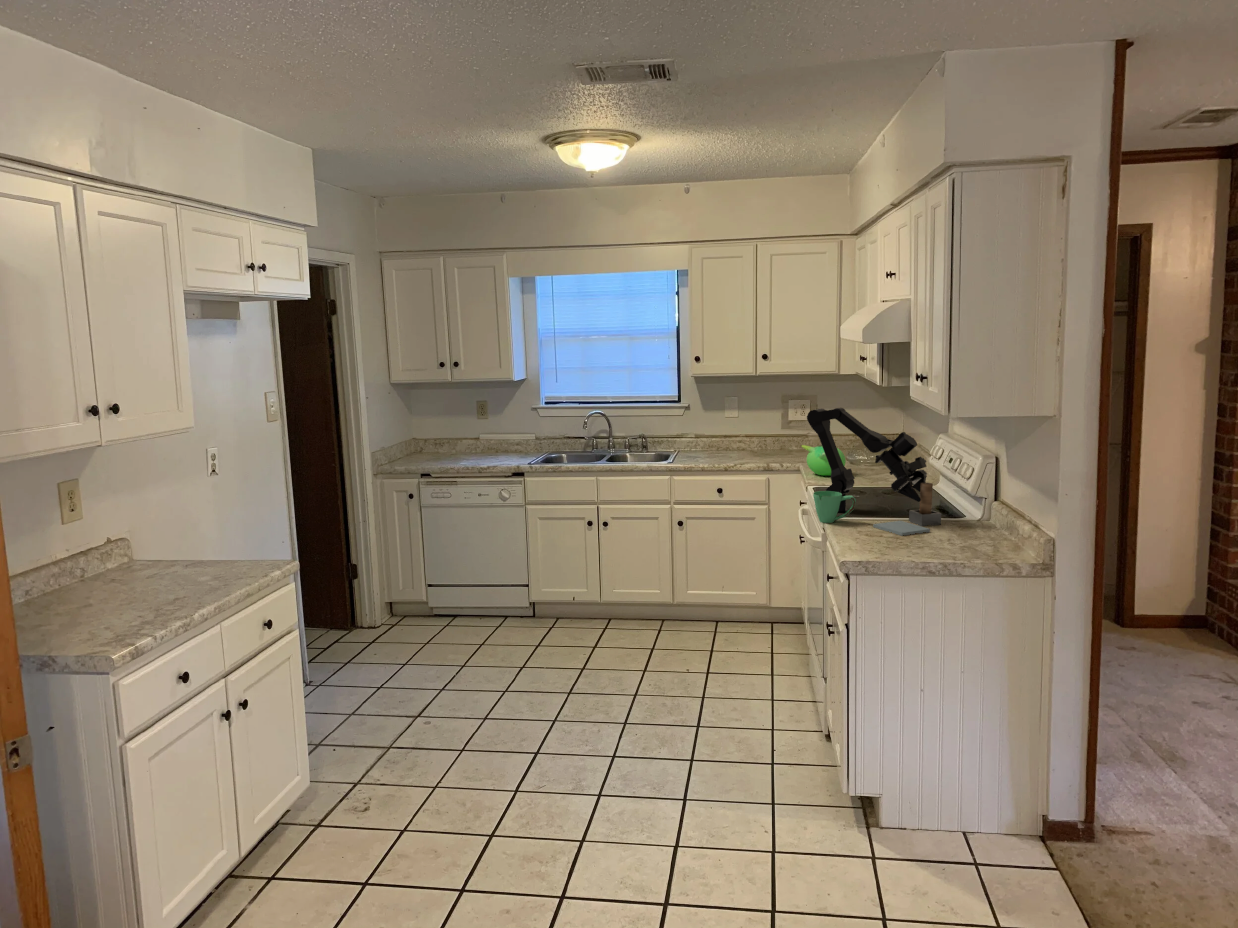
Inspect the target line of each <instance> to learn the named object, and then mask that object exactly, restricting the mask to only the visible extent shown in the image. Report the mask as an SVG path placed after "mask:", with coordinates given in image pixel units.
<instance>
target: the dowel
mask: <svg viewBox="0 0 1238 928" xmlns="http://www.w3.org/2000/svg"><path fill="white" fill-rule="evenodd" d="M933 485H934V483H933V482H932V483H931V482H926V483H921V484H920V492H919V497H920V499H921V501H920V502H919V509H918V510H919V513H921V514H931V510H932V506H933V491H934V490H933V489H934V488H933Z"/></svg>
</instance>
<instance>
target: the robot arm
mask: <svg viewBox="0 0 1238 928" xmlns="http://www.w3.org/2000/svg"><path fill="white" fill-rule="evenodd" d="M806 420H807V422H808V424H809V426H810V428H811V429H812V430H813V431H814V432H815V433H816V434H817V436H818V439H819V442H820V444H821V445H822V447H823V450H824V452H825V455H826V458H827V460H828V463H829V465H830V468H831V476H830V481H831V485H829V486H828V487H826V489H825V491H833V492H839V493H841V494H842V496H847V494H849V493H850V490H851V489H852V488H853V487H854V485H855V479H856V478H855V476H854V475H853V471H852V468H846V467H845V466H844V465H843V463H842V460H841V458H840V455H839V452H838V450H837V448H838V447H837V445H836V442H835V440H834V437H833V434H832V431H831V420H836V421H837V422H839V423H840V424H841V425H843V426H844V427H846V429H848V430H849V431H850V432H852V433H853V434H854V435H856V436H857V437H858V438H859V439H860V440H861V441H862V444H863V446H865V447H866V449H867V450H868V451H869V452H870V453H872V454H873V453H874V454H876V453H880V452H882V453H880V454H877V455H875V462H874V463H875V464H877V463H881V462H882V463H883V464H884V465H885V467H886V468H887V469H888V470H889V473H888V474H890V475H891V476H894V477H895V478H896V480H894V481H892V483H890V487H891V490H892V491H893V492H896V493H898V494H901V495H903V496H905V497H907V498H910V499H911V500H914V501H916V502H918V503H920V501H921V499H920V494H918V493H917V491H918V492H919V493H920V484H921V483H927V481H926V480H927V478H928V476H927V475H928V473H927V472H926V470H925V469H923V468H927V460H926V459H925V458H924V457H922V456H918V457H916V458H914V461H911V462H909V461H908V460H903V459H902V458H901V457H906V456H907V455H908V454H910V452H912V451H913V450H914V449H915V448H916V447H917V446H918V443H917V441H916V440H915V438H914V437H912V436H911V435H909V434H907V433H906V432H905V431H902V432H900V433H899V434H898V436H897V437H896V438H895V439H894V440H893V439H889V438H887V437H886V436H885V435H883V434H881V433H880V432H878V431H874V430H872V429H870V428H869V427H867V426H866V425H864V424H863V423H862V422H861V421H859V420H858V419H857V418H855V416H853V415H851V414H850V413H849V412H848V411H846V409H845V408H844V407H835V408H833V409H829V410H828V409H825V408H817V409H816V408H815V409H811V410H810V411H809V412H808V413H807V415H806ZM887 449H889V450H887ZM846 506H847V500H842V501H841V502H840V506H839V510H838V513H843V512H844V513H846V512H847V511H848V510H849V508H847V507H846Z"/></svg>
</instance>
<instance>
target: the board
mask: <svg viewBox="0 0 1238 928" xmlns="http://www.w3.org/2000/svg"><path fill="white" fill-rule="evenodd" d="M872 527H873V528H876V529H879V530H881V531H885V532H888V531H889V533H891V532H892V534H894V533H895V534H894V535H898V536H902V537H904V536H910V534H911V535H916V534H915V533H919V534H924V533H923V532H926V533H931V529H930V528H928V527H926V526H920V525H917V524H914V523H912V522H907V521H903V520H894V521H887V522H880V523H873V525H872ZM903 535H904V536H903Z"/></svg>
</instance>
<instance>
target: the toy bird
mask: <svg viewBox="0 0 1238 928" xmlns="http://www.w3.org/2000/svg"><path fill="white" fill-rule="evenodd" d="M801 448H802V449H804V450H806V451H807V452H808V453H807V455H806V464H807V467H808V468H809V469H810V471H811V472H813V473H814V474H816V475H818V476H822V477H831V468H830V465H829V463H828V460H827V458H826V455H825V452H824V450H823V447H822V444H821V445H817V446H810V445H805V444H802V445H801ZM837 450H838V452H839V455H840V458H841V460H842V463H843V465H844V467H845V466H846V456H845V454H844V453H843V451H842V450H841V449H840V448H838V447H837Z"/></svg>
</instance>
